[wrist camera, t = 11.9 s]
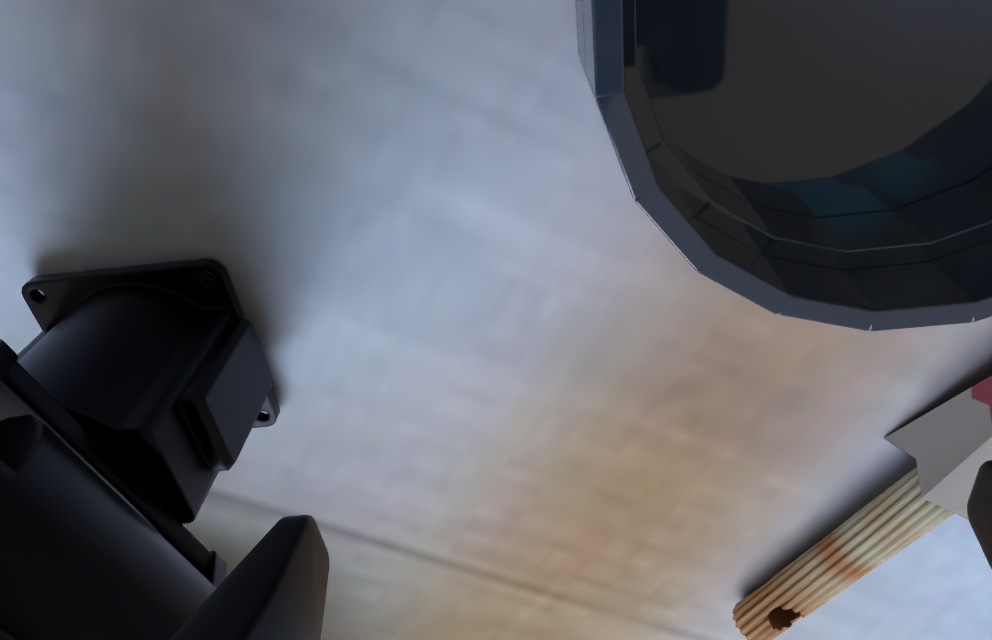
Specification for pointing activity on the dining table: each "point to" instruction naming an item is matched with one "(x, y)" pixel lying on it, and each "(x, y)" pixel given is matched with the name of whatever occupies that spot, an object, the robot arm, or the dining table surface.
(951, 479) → the paintbrush
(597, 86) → the fruit bowl
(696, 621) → the dining table surface
